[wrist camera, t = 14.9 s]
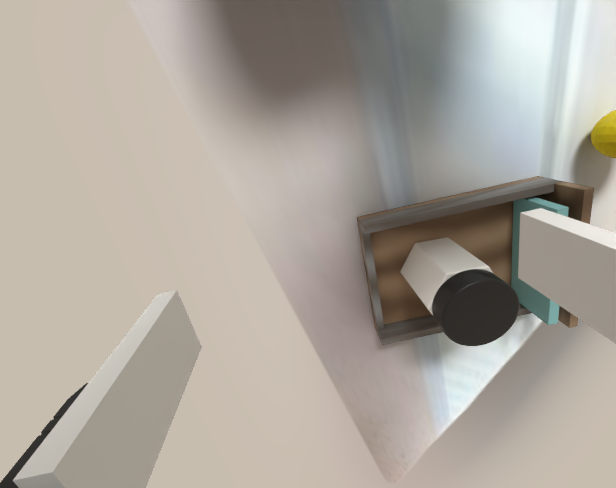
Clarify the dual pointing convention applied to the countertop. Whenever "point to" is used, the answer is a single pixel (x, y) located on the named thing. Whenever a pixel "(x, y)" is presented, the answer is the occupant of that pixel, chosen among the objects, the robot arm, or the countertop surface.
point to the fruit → (605, 135)
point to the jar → (460, 292)
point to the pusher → (525, 292)
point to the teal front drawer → (461, 229)
